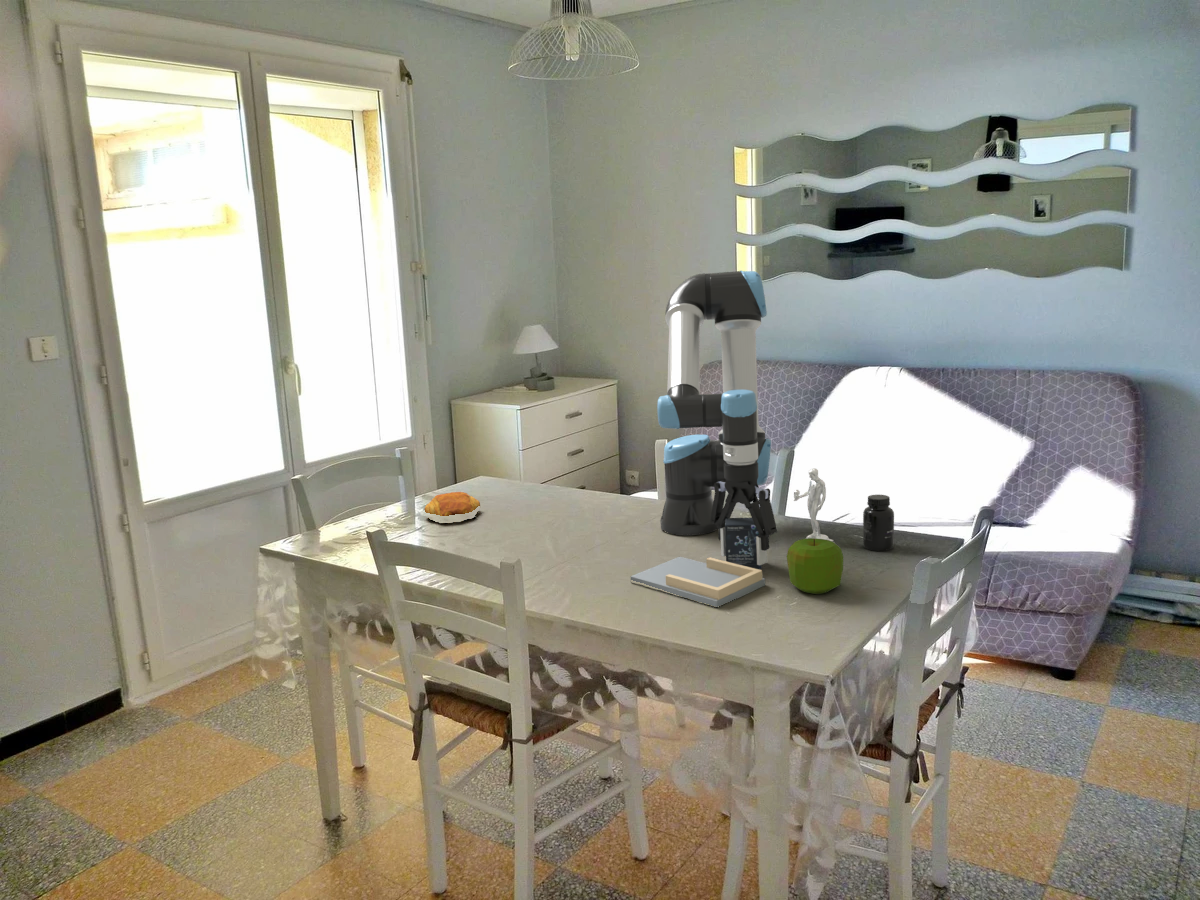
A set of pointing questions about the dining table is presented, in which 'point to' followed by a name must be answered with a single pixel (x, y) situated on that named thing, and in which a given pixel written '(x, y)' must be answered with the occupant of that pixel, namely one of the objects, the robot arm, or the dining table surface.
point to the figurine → (814, 502)
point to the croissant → (452, 504)
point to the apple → (815, 565)
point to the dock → (703, 579)
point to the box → (741, 542)
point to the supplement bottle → (878, 524)
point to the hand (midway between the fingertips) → (743, 558)
